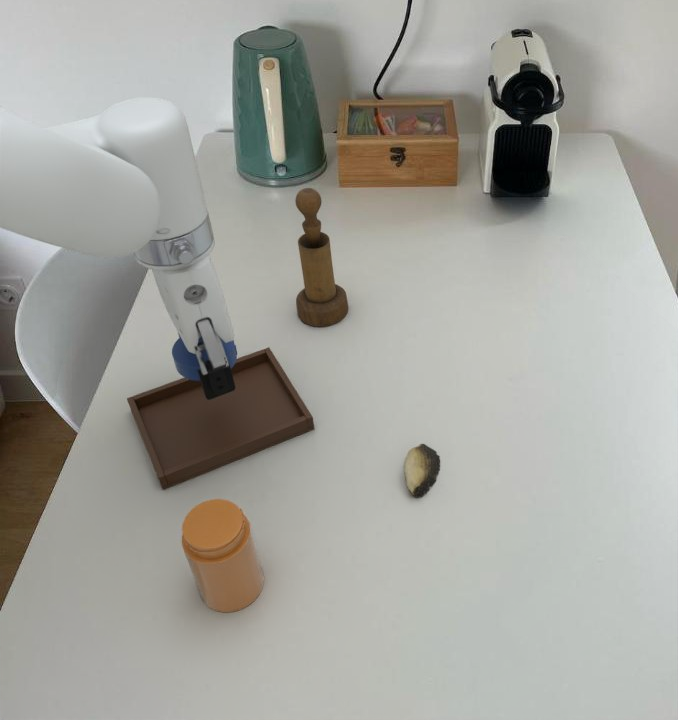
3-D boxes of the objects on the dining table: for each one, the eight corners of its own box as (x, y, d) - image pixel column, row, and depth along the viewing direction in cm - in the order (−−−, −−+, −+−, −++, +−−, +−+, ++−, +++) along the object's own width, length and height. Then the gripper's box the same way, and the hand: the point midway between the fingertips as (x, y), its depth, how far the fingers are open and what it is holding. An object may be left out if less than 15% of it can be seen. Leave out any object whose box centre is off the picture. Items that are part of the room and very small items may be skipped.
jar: (211, 623, 74) (189, 563, 67) (192, 573, 78) (168, 512, 71) (273, 594, 76) (257, 534, 69) (251, 547, 79) (233, 485, 73)
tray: (162, 490, 85) (158, 478, 84) (131, 410, 94) (126, 398, 93) (314, 429, 91) (312, 416, 89) (271, 359, 100) (269, 346, 98)
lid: (235, 336, 89) (232, 322, 88) (240, 374, 84) (237, 361, 83) (175, 346, 88) (171, 332, 87) (176, 385, 83) (172, 372, 82)
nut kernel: (415, 502, 82) (419, 479, 81) (381, 476, 85) (385, 454, 83) (455, 476, 87) (460, 455, 85) (422, 453, 89) (426, 431, 88)
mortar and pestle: (329, 289, 109) (314, 170, 97) (358, 311, 106) (346, 191, 94) (288, 310, 106) (267, 190, 94) (316, 334, 103) (299, 212, 90)
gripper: (241, 269, 71) (271, 411, 83) (183, 182, 82) (217, 317, 94) (156, 297, 68) (201, 438, 81) (109, 202, 80) (154, 339, 92)
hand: (209, 372), depth 87 cm, fingers closed on lid, 6 cm apart
